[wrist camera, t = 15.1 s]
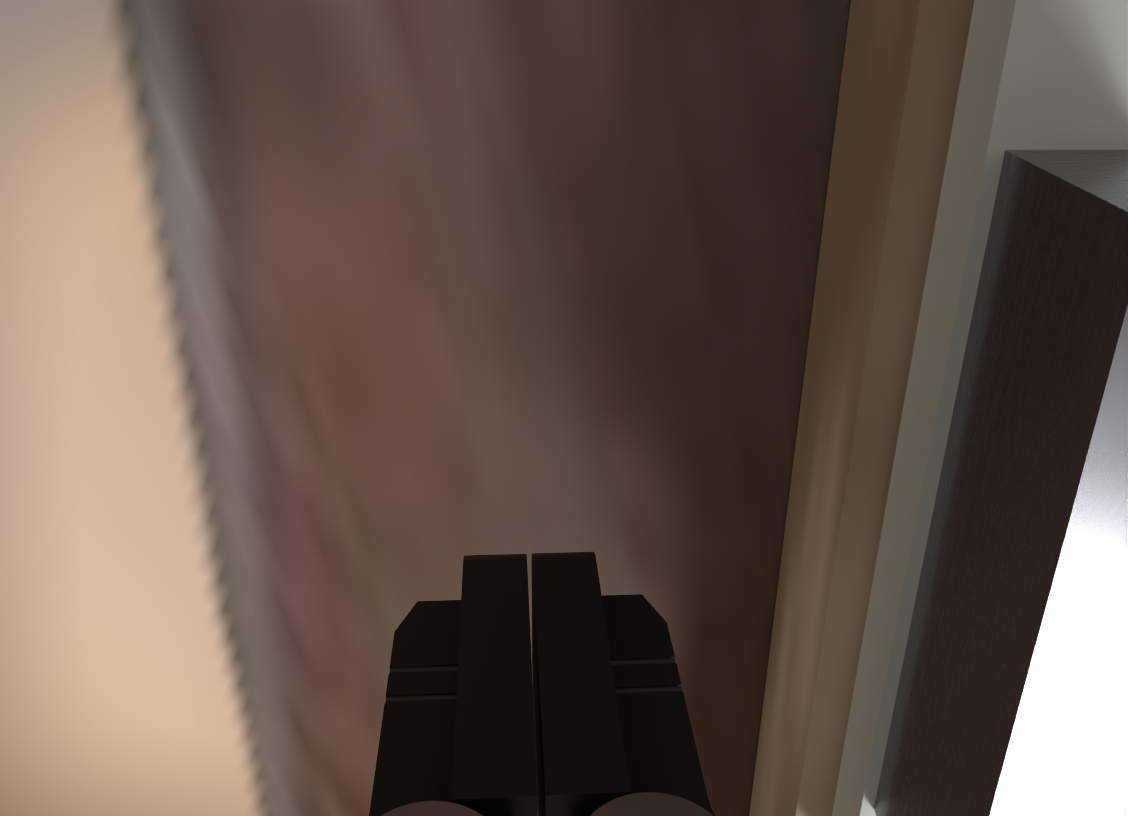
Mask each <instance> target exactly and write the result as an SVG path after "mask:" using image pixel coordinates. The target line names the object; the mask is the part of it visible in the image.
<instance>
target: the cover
mask: <svg viewBox="0 0 1128 816" xmlns="http://www.w3.org/2000/svg"><path fill="white" fill-rule="evenodd" d="M832 816H1128V0H974V5H973V11H972V17H971V22H970V28H969V34H968V39H967V45H966V51H965V57H964V62H963V68H962V74H961V79H960V85H959V91H958V97H957V102H956V108H955V114H954V119H953V125H952V131H951V137H950V142H949V148H948V154H947V159H946V165H945V171H944V177H943V182H942V188H941V194H940V199H939V205H938V211H937V217H936V222H935V228H934V234H933V239H932V245H931V251H930V257H929V262H928V268H927V274H926V280H925V285H924V291H923V297H922V302H921V308H920V314H919V320H918V325H917V331H916V337H915V342H914V348H913V354H912V360H911V365H910V371H909V377H908V382H907V388H906V394H905V400H904V405H903V411H902V417H901V422H900V428H899V434H898V440H897V445H896V451H895V457H894V462H893V468H892V474H891V480H890V485H889V491H888V497H887V502H886V508H885V514H884V520H883V525H882V531H881V537H880V542H879V548H878V554H877V560H876V565H875V571H874V577H873V583H872V588H871V594H870V600H869V605H868V611H867V617H866V623H865V628H864V634H863V640H862V645H861V651H860V657H859V663H858V668H857V674H856V680H855V685H854V691H853V697H852V703H851V708H850V714H849V720H848V725H847V731H846V737H845V743H844V748H843V754H842V760H841V765H840V771H839V777H838V783H837V788H836V794H835V800H834V805H833V811H832Z"/></svg>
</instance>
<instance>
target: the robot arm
mask: <svg viewBox="0 0 1128 816" xmlns="http://www.w3.org/2000/svg"><path fill="white" fill-rule="evenodd" d="M532 671H533V684H532ZM369 816H715V814H714V813H713V811H712V809H711V806H710V803H709V800H708V796H707V792H706V788H705V784H704V779H703V775H702V771H701V767H700V762H699V758H698V754H697V749H696V745H695V741H694V737H693V732H692V728H691V724H690V720H689V715H688V711H687V707H686V702H685V698H684V694H683V692H682V690H681V681H680V677H679V673H678V668H677V664H675V655H674V651H673V647H672V643H671V638H670V634H669V630H668V626H667V623H666V621H665V620H664V619H663V618H662V617H661V616H660V615H659V613H658V612H657V611H656V610H655V609H654V608H653V607H652V606H651V604H650V603H649V602H648V601H647V600H646V599H645V598H644V596H643V595H608V596H601V590H600V583H599V577H598V570H597V563H596V557H595V553H594V552H571V553H534V554H532V662H531V640H530V618H529V596H528V574H527V555H526V554H506V555H469V556H464V560H463V579H462V599H461V600H448V601H417V603H416V604H415V605H414V607H413V608H412V609H411V611H410V612H409V613H408V615H407V616H406V617H405V619H404V620H403V621H402V623H401V624H400V625H399V627H398V628H397V629H396V631H395V633H394V640H393V648H392V655H391V662H390V673H389V676H388V684H387V691H386V703H385V705H384V712H383V720H382V727H381V734H380V741H379V749H378V756H377V763H376V770H375V777H374V785H373V792H372V799H371V806H370V813H369Z"/></svg>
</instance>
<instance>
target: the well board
mask: <svg viewBox="0 0 1128 816" xmlns="http://www.w3.org/2000/svg"><path fill="white" fill-rule="evenodd" d="M973 5H974V0H851V4H850V12H849V20H848V28H847V36H846V44H845V52H844V60H843V68H842V76H841V84H840V92H839V100H838V108H837V116H836V124H835V132H834V140H833V148H832V156H831V164H830V172H829V180H828V188H827V196H826V204H825V212H824V220H823V228H822V236H821V244H820V252H819V260H818V268H817V276H816V284H815V292H814V300H813V308H812V316H811V324H810V332H809V340H808V348H807V356H806V364H805V372H804V380H803V388H802V396H801V404H800V412H799V420H798V428H797V436H796V444H795V452H794V460H793V468H792V477H791V485H790V493H789V501H788V509H787V517H786V525H785V533H784V541H783V549H782V557H781V565H780V573H779V581H778V589H777V597H776V605H775V613H774V621H773V629H772V637H771V645H770V653H769V661H768V669H767V677H766V685H765V693H764V701H763V709H762V717H761V725H760V733H759V741H758V749H757V757H756V765H755V773H754V781H753V789H752V797H751V805H750V813H749V816H832V811H833V805H834V800H835V794H836V788H837V783H838V777H839V771H840V765H841V760H842V754H843V748H844V743H845V737H846V731H847V725H848V720H849V714H850V708H851V703H852V697H853V691H854V685H855V680H856V674H857V668H858V663H859V657H860V651H861V645H862V640H863V634H864V628H865V623H866V617H867V611H868V605H869V600H870V594H871V588H872V583H873V577H874V571H875V565H876V560H877V554H878V548H879V542H880V537H881V531H882V525H883V520H884V514H885V508H886V502H887V497H888V491H889V485H890V480H891V474H892V468H893V462H894V457H895V451H896V445H897V440H898V434H899V428H900V422H901V417H902V411H903V405H904V400H905V394H906V388H907V382H908V377H909V371H910V365H911V360H912V354H913V348H914V342H915V337H916V331H917V325H918V320H919V314H920V308H921V302H922V297H923V291H924V285H925V280H926V274H927V268H928V262H929V257H930V251H931V245H932V239H933V234H934V228H935V222H936V217H937V211H938V205H939V199H940V194H941V188H942V182H943V177H944V171H945V165H946V159H947V154H948V148H949V142H950V137H951V131H952V125H953V119H954V114H955V108H956V102H957V97H958V91H959V85H960V79H961V74H962V68H963V62H964V57H965V51H966V45H967V39H968V34H969V28H970V22H971V17H972V11H973Z"/></svg>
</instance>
